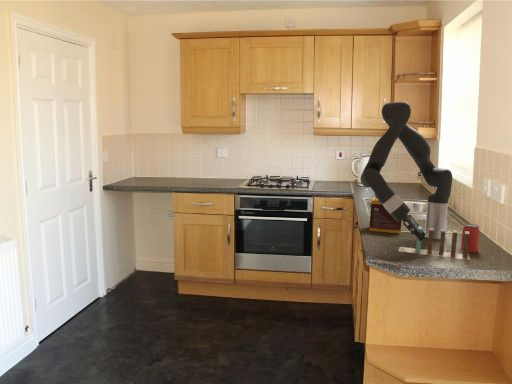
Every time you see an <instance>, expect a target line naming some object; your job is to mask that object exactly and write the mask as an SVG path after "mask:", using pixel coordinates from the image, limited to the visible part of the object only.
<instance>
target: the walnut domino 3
mask: <svg viewBox="0 0 512 384" xmlns="http://www.w3.org/2000/svg"><path fill="white" fill-rule="evenodd" d="M451 237H452V238H451V246H450V253H451V257H455V253H457V252H456V251H457V242H458V230H456V229H453V230H452V236H451Z"/></svg>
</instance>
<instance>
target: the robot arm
mask: <svg viewBox="0 0 512 384" xmlns="http://www.w3.org/2000/svg"><path fill="white" fill-rule="evenodd" d="M411 114H412V108H411V105H410V104H409V103H408V102H407V101H392V102H387V103H384V105H383V107H382V109H381V116H382V118H383V120H384V122H385V124H387V126H388V127H389V128H388V129H387V130H386V131H385V132H384V133H383V135H382V136H381V137H380V138H379V139H378V140H377V141H376V143H375V144H374V146H373V148H372V150H371V153H370V156H369V158H368V161H367V163H366V165H365V166H364V168H363V171H362V173H361V175H360V178H359V179H360V183H361V185H363V186H364V187H365V188H370V189H371V190H372V191H373V193H374V196H375V198H377V199H378V200H379V201H380V202H381V204H383V206H384V207H385V209H386V210H387V211H388V212H389V213H390V215H391V216H392V217H393V218H394V219H395V220H396V221H399V220H400V219H402V222H403V226H404V227H405V228H406V229H407V230H408V231H409V232H410V233H411V234H412V235H414V236H415V237H416V239H417V238H418V239H419V240H420V241H421V242H423V241H424V240H425V239H426V238H427V239H429V229H430V228H434V232H433V240H440V237H441V229H445V239H446V238H447V229H448V216H447V215H448V207H449V199H450V197H451V191H452V185H453V173H452V172H451V170H450V169H447V168H441V167H436V166H435V165H434V163H433V162H432V161H431V157H430V156H431V147H430V144H429V143H428V141H427V140H426V138H425V137H424V135H423V134H422V133H420V132H419V131H418V130H416V129H414V128H413V127H411V126H410V125H409V124H408V122H409V119H410V117H411ZM398 139H399V141H400V142H401V143H402V146H404V148H405V149H406V151H407V152H408V154H409V155H410V157H411V158H412V160H413V162H415V165H416V167H418V169H419V171H420V172H421V175H422V176H423V179H424V181H425V182H426V184H427V185H428V186H430V187H431V188H435V189H436V191H435V192H434V193H431V194H428V196H427V202H426V214H425V223H424V225H425V226H424V230H422V234H421V233H420V231H419V230H418V226H420V224H419V223H418V222H417V220H415V218H414V217H413V216H412V215H411V214H410V212H411V208H410V207H409V206H408V205H407V204H406V202H405V201H404V200H403V199H401V196H398V195H397V194H396V192H395V191H393V190H392V189H391V187H390V186H389V185H388V183H387V182H386V180H385V178H384V176H383V175H382V174H381V171H382V169H383V167H384V166H385V165H386V163H387V159H388V158H389V156H390V154H391V150H392V149H393V146H394V145H395V143H396V141H397V140H398ZM402 200H403V201H402Z"/></svg>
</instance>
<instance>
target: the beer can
mask: <svg viewBox="0 0 512 384" xmlns="http://www.w3.org/2000/svg"><path fill="white" fill-rule="evenodd" d="M479 227H480V226H479V225H478V224H474V223H464V226H463V228H462V235H461V243H460V244H461V245H460V249H461V251H463V245H464V234H465V231H469V233H470V235H469V246H468V253H477V252H478V251H479V250H478V249H479V241H480V228H479Z"/></svg>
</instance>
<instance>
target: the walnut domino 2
mask: <svg viewBox="0 0 512 384" xmlns="http://www.w3.org/2000/svg"><path fill="white" fill-rule="evenodd" d="M445 240H446V238H445V229H441V237H440V239H439V250H438V251H439V255H442V256H443V252H445ZM442 256H441V257H442Z"/></svg>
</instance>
